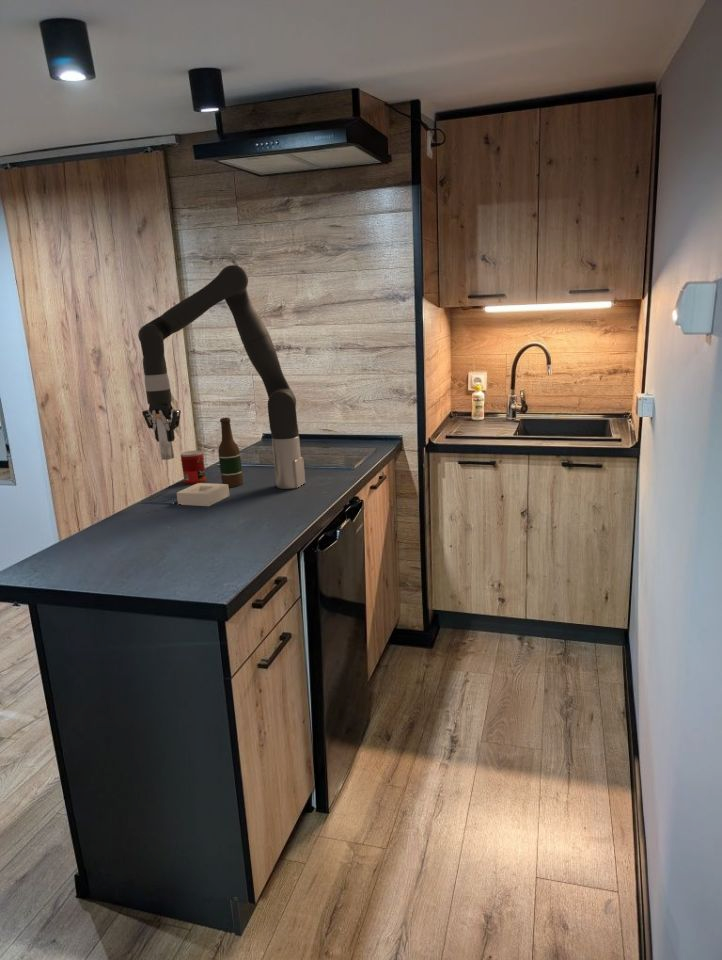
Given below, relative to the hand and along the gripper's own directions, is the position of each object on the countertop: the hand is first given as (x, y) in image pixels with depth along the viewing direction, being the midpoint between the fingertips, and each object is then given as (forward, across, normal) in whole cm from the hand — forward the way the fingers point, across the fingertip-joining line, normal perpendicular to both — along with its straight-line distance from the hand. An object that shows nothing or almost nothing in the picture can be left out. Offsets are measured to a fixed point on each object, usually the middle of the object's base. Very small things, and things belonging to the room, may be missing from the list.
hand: (165, 441), depth 219 cm
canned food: (+21, +8, -24) cm, 33 cm away
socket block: (+20, -10, -3) cm, 23 cm away
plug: (+6, 0, 0) cm, 6 cm away
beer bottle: (+21, -9, -22) cm, 31 cm away
